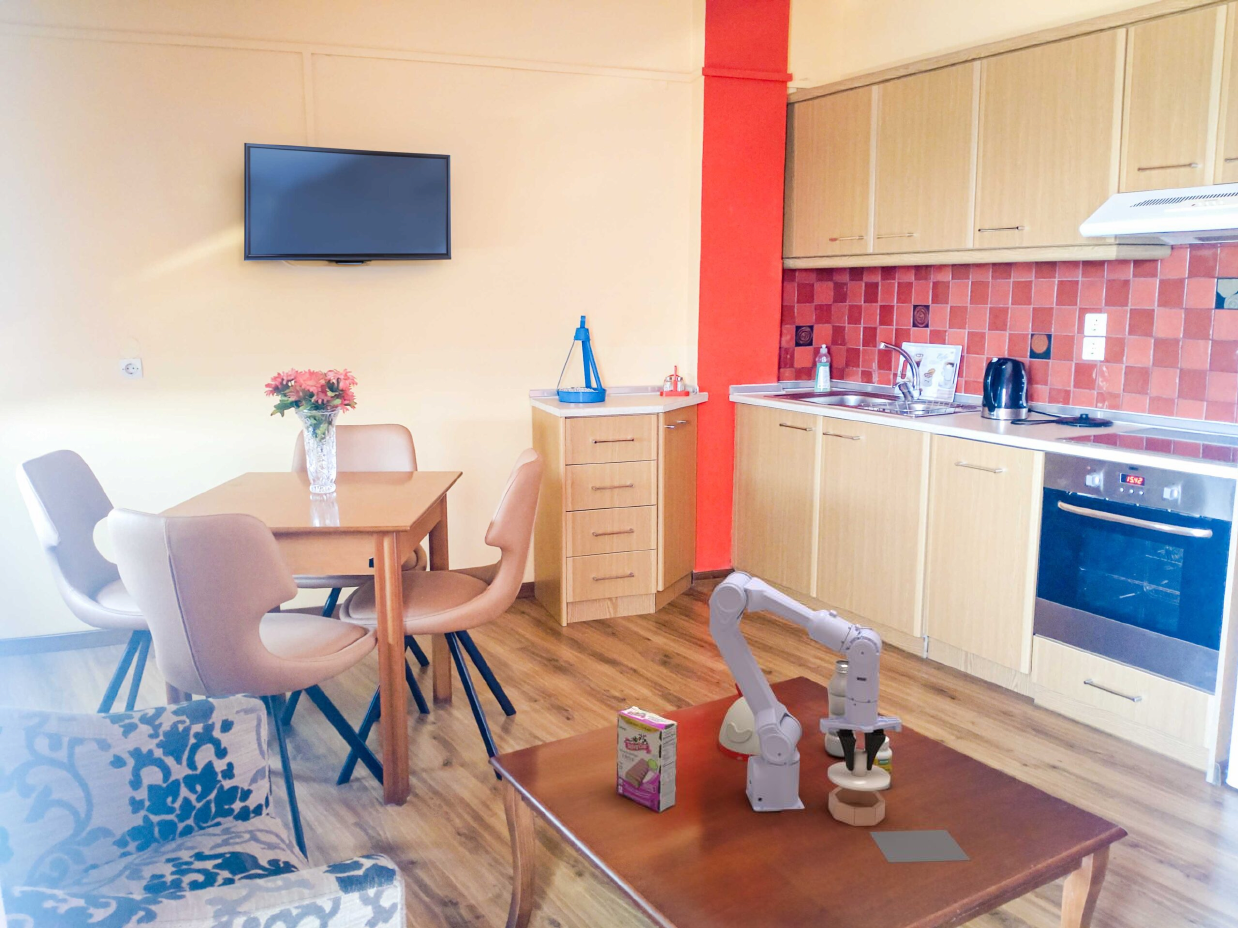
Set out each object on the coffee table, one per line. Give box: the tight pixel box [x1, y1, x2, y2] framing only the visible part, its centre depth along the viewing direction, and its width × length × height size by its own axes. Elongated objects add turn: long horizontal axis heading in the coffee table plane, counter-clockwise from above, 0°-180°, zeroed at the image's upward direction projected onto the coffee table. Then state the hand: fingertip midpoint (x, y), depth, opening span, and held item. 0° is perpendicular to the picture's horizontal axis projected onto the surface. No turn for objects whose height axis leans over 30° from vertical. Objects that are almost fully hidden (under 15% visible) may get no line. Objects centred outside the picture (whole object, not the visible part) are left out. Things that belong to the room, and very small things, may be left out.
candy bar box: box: [616, 705, 678, 813], centre depth 182 cm, size 11×5×16 cm, turn 47°
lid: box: [827, 748, 891, 791], centre depth 177 cm, size 11×11×5 cm
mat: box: [868, 829, 971, 864], centre depth 167 cm, size 14×10×1 cm
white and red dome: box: [718, 682, 761, 763], centre depth 206 cm, size 14×14×15 cm
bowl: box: [828, 785, 886, 827], centre depth 178 cm, size 9×9×4 cm
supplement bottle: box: [863, 736, 893, 791], centre depth 190 cm, size 5×5×10 cm
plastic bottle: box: [824, 659, 857, 758], centre depth 203 cm, size 6×7×20 cm
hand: (858, 768), depth 177 cm, fingers closed on lid, 3 cm apart
